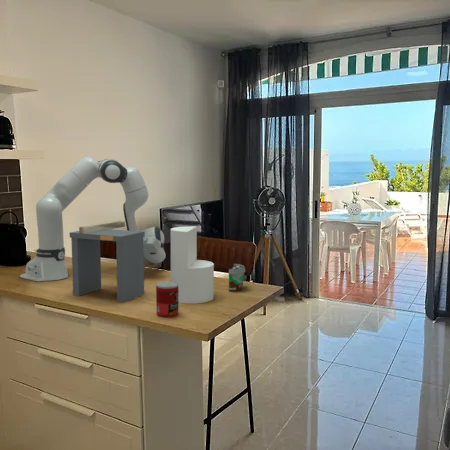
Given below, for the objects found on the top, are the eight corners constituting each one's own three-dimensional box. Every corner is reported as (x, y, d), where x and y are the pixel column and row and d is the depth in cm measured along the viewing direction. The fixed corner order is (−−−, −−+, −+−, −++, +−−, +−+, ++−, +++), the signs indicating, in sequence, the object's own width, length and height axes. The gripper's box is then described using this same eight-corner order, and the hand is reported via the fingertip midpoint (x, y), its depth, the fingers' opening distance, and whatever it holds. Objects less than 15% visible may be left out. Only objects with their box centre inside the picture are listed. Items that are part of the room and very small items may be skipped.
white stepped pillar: (165, 302, 176) (165, 231, 172) (176, 290, 193) (176, 225, 189) (209, 304, 173) (210, 232, 170) (216, 292, 190) (217, 227, 187)
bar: (79, 233, 178) (79, 227, 178) (119, 226, 202) (119, 220, 202) (85, 233, 177) (85, 227, 177) (124, 226, 201) (124, 221, 201)
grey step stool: (70, 295, 183) (68, 232, 180) (97, 286, 198) (95, 228, 195) (121, 303, 173) (120, 236, 170) (145, 293, 188) (144, 231, 185)
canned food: (172, 318, 156) (172, 287, 155) (152, 315, 159) (151, 285, 158) (182, 312, 163) (182, 282, 162) (163, 309, 166) (162, 280, 165)
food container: (242, 293, 190) (243, 270, 189) (228, 292, 191) (228, 269, 190) (247, 286, 202) (247, 264, 201) (233, 285, 203) (233, 263, 202)
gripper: (128, 239, 225) (113, 227, 213) (164, 242, 217) (150, 230, 205) (125, 250, 222) (109, 240, 211) (160, 254, 214) (146, 243, 203)
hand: (130, 235), depth 208 cm, fingers open, 8 cm apart
